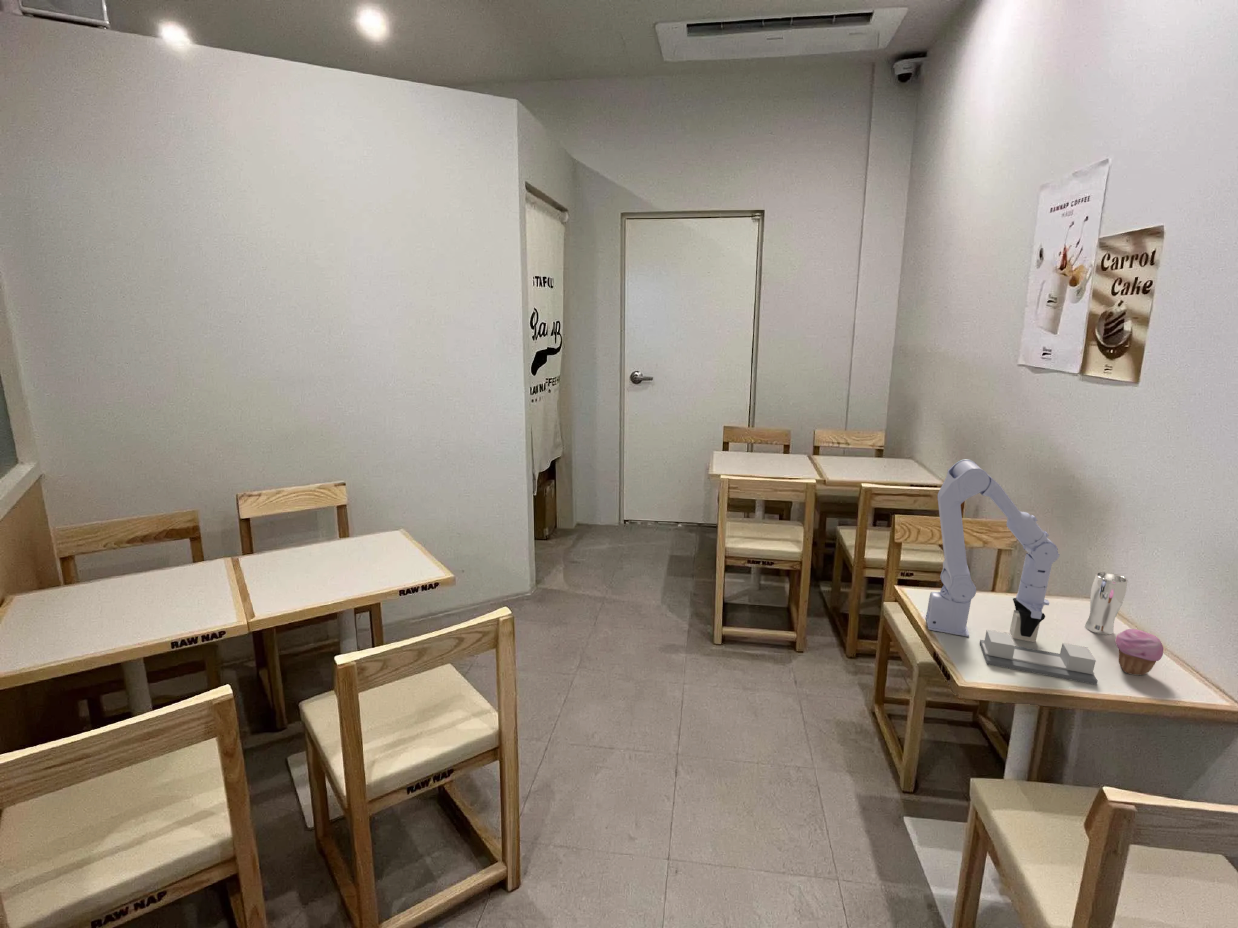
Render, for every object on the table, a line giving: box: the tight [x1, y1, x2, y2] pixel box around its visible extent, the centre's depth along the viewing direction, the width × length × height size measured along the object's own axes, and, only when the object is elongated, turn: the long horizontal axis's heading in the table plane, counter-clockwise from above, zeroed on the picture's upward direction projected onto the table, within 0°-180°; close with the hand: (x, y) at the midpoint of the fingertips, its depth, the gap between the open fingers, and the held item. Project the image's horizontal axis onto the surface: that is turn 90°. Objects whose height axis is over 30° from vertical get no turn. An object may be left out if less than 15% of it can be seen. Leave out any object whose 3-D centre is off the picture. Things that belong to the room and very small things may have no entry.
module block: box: [1009, 609, 1041, 643], centre depth 164 cm, size 5×4×6 cm
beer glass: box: [1084, 571, 1129, 636], centre depth 168 cm, size 7×7×15 cm
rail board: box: [979, 629, 1099, 686], centre depth 153 cm, size 22×10×5 cm, turn 70°
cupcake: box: [1114, 628, 1164, 676], centre depth 150 cm, size 9×9×10 cm
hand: (1023, 631), depth 165 cm, fingers closed on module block, 4 cm apart
